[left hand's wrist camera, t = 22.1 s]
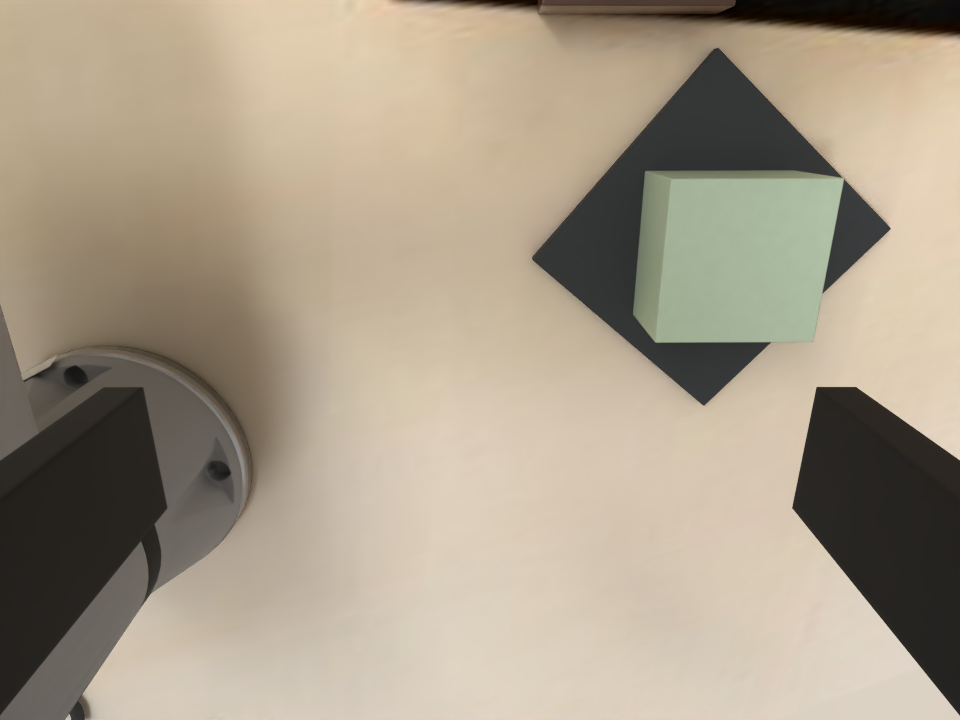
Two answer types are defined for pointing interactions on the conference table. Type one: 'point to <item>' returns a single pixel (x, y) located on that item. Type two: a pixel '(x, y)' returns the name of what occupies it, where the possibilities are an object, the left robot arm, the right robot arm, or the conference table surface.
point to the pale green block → (734, 254)
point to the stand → (633, 6)
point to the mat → (691, 147)
